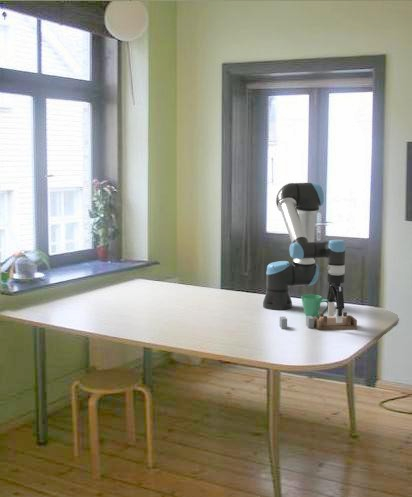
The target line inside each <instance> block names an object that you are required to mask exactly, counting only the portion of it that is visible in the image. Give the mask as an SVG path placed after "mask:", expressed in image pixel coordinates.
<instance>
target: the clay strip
mask: <svg viewBox="0 0 412 497" xmlns="http://www.w3.org/2000/svg"><path fill="white" fill-rule="evenodd" d="M318 317H319V318H318V319H319V320H320V321H321V326H323V317H320V316H318ZM331 325H347V316H343V317H342V323H336V315H334V316H327V326H331Z"/></svg>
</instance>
